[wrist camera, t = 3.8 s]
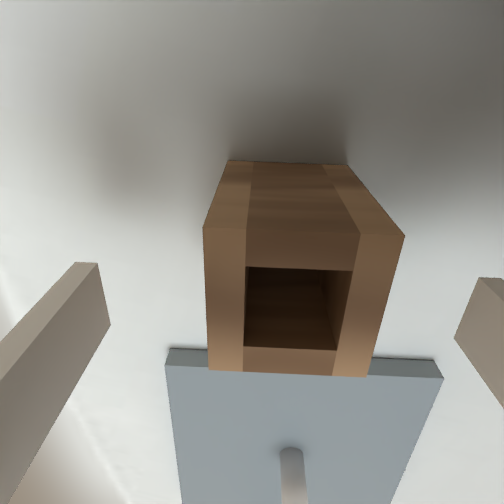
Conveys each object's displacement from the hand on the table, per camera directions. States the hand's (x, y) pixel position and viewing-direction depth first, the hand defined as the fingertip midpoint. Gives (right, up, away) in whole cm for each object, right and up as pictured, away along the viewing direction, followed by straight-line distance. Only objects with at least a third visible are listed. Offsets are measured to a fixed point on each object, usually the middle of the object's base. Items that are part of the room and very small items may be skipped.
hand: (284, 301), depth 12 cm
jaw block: (+1, +4, +6) cm, 7 cm away
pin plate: (+2, -13, +16) cm, 20 cm away
